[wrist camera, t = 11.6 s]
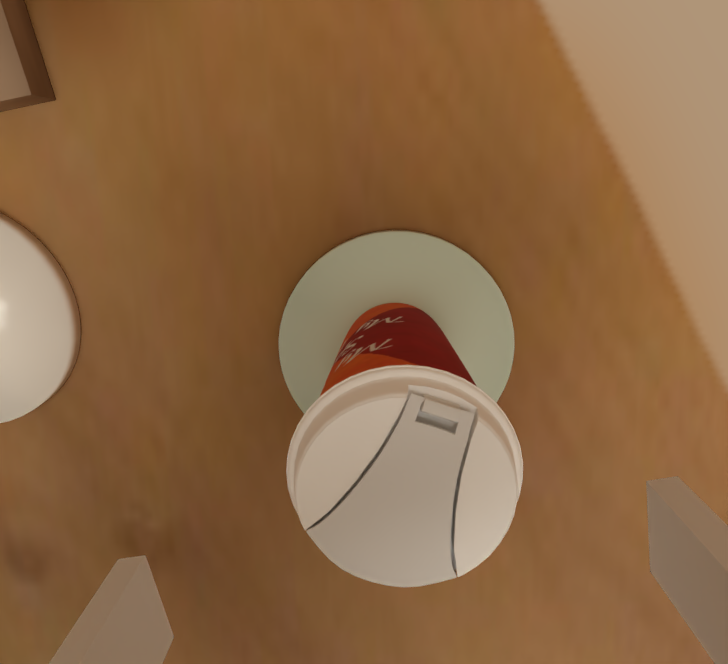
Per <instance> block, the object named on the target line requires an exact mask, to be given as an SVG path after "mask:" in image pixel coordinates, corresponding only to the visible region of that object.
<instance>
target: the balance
mask: <svg viewBox="0 0 728 664" xmlns="http://www.w3.org/2000/svg"><path fill="white" fill-rule="evenodd" d="M53 100H56V99H55V96H54V93H53V90H52V86H51V83H50V80H49V77H48V74H47V71H46V68H45V65H44V62H43V58H42V55H41V52H40V49H39V46H38V43H37V40H36V37H35V33H34V30H33V27H32V24H31V21H30V18H29V15H28V12H27V9H26V5H25V2H24V0H0V112H1V111H6V110H11V109H15V108H20V107H25V106H29V105H34V104H39V103H43V102H48V101H53Z"/></svg>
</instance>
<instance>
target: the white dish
mask: <svg viewBox="0 0 728 664" xmlns="http://www.w3.org/2000/svg"><path fill="white" fill-rule="evenodd" d="M80 340H81V323H80V316H79V309H78V306H77V302H76V298H75V295H74V292H73V290H72V288H71V285H70V283H69V280H68V279H67V277H66V275H65V273H64V272H63V270H62V268H61V266H60V265H59V264H58V262H57V261H56V259H55V258H54V257H53V255H52V254H51V253H50V252H49V250H48V249H47V248H46V247H45V246H44V245H43V244H42V243H41V241H39V240H38V239H37V238H36V237H35V236H34V235H33V234H32V233H30V232H29V231H28V230H27V229H26V228H24V227H23V226H21V225H20V224H19V223H17V222H16V221H14V220H13V219H11V218H9V217H7V216H5V215H4V214H2V213H0V423H3V422H7V421H11V420H13V419H16V418H19V417H21V416H23V415H25V414H27V413H29V412H30V411H32V410H34V409H35V408H37V407H38V406H40V405H41V404H43V403H44V402H45V401H47V400H48V399H49V398H51V397H52V396H53V395H54V394H55V393H56V392H57V391H58V390H59V389H60V388H61V387H62V386H63V385H64V383H65V382H66V380H67V379H68V377H69V376H70V374H71V372H72V370H73V368H74V365H75V363H76V360H77V356H78V353H79V348H80Z"/></svg>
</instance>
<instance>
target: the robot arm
mask: <svg viewBox="0 0 728 664" xmlns="http://www.w3.org/2000/svg"><path fill="white" fill-rule="evenodd" d="M646 485H647V508H648V532H649V555H650V572H651V573H652V575H653V576H654V578H655V579H656V581H657V582H658V583H659V585H660V586H661V588H662V589H663V591H664V592H665V593H666V595H667V596H668V598H669V599H670V601H671V602H672V603H673V605H674V606H675V608H676V609H677V610H678V612H679V613H680V615H681V616H682V618H683V619H684V620H685V622H686V623H687V625H688V626H689V628H690V629H691V630H692V632H693V633H694V635H695V636H696V638H697V639H698V640H699V642H700V643H701V645H702V646H703V648H704V649H705V650H706V652H707V653H708V655H709V656H710V658H711V659H712V660H713V662H714V663H715V664H728V526H727V525H726V524H725V523H724V522H723V521H722V520H721V519H720V518H719V517H718V516H717V515H716V514H715V513H714V512H713V511H712V510H711V509H710V508H709V507H708V506H707V505H706V504H705V503H704V502H703V501H702V500H701V499H700V498H699V497H698V496H697V495H696V494H695V493H694V492H693V491H692V490H691V489H690V488H689V487H688V486H687V485H686V484H685V483H684V482H683V481H682V480H681V479H680V478H679V477H678V476H677V477H670V478H663V479H656V480H650V481H646ZM173 638H174V635H173V632H172V630H171V627H170V624H169V621H168V618H167V615H166V613H165V610H164V607H163V604H162V601H161V598H160V595H159V593H158V590H157V587H156V584H155V581H154V578H153V575H152V573H151V570H150V567H149V564H148V561H147V558H146V555H143V556H136V557H130V558H123V559H118V560H117V562H116V563H115V565H114V566H113V568H112V569H111V571H110V572H109V574H108V575H107V577H106V578H105V580H104V581H103V583H102V584H101V586H100V587H99V589H98V590H97V592H96V593H95V595H94V596H93V598H92V599H91V601H90V602H89V604H88V605H87V607H86V608H85V610H84V611H83V613H82V614H81V616H80V617H79V619H78V620H77V622H76V623H75V625H74V626H73V628H72V629H71V631H70V632H69V634H68V635H67V637H66V638H65V640H64V641H63V643H62V644H61V646H60V647H59V649H58V650H57V652H56V653H55V655H54V656H53V658H52V659H51V661H50V662H49V664H163V661H164V659H165V657H166V654H167V652H168V650H169V647H170V645H171V643H172V640H173Z"/></svg>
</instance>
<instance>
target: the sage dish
mask: <svg viewBox="0 0 728 664" xmlns="http://www.w3.org/2000/svg"><path fill="white" fill-rule="evenodd" d="M386 303H404V304H408V305H412V306H414V307H417V308H419V309H421V310H422V311H424V312H425V313H427V314H428V315H429V316H430V317H431V318H432V319H433V320H434V321H435V322H436V323H437V324H438V326H439V327H440V328H441V330H442V331H443V333H444V334H445V336H446V337H447V339H448V341H449V342H450V344H451V345H452V347H453V348H454V350H455V352H456V353H457V355H458V356H459V358H460V360H461V361H462V363H463V364H464V366H465V368H466V369H467V371H468V373H469V374H470V376H471V377H472V379H473V381H474V382H475V384H476V386H477V387H479V388H480V389H481V390H483V391H484V392H485V393H486V394H487V395H488V396H490V397H491V398H492V399H493V400H494V401H495V402H496V403H497V401H498V399H499V398H500V396H501V394H502V392H503V390H504V388H505V386H506V383H507V381H508V378H509V376H510V372H511V368H512V363H513V357H514V347H515V346H514V329H513V324H512V318H511V315H510V312H509V309H508V306H507V303H506V301H505V299H504V297H503V295H502V293H501V291H500V289H499V287H498V286H497V284H496V283H495V281H494V280H493V278H492V277H491V276H490V275H489V274H488V272H487V271H486V270H485V269H484V268H483V267H482V266H481V265H480V264H479V263H478V262H477V261H476V260H475V259H474V258H472V257H471V256H470V255H469V254H468V253H466V252H465V251H464V250H462V249H460V248H459V247H457V246H456V245H454V244H452V243H450V242H448V241H446V240H444V239H441V238H439V237H437V236H433V235H430V234H426V233H423V232H417V231H410V230H384V231H375V232H371V233H367V234H363V235H360V236H357V237H355V238H352V239H350V240H347V241H345V242H343V243H341V244H340V245H338V246H336V247H334V248H332V249H331V250H330V251H328V252H327V253H326V254H324V255H323V256H322V257H320V258H319V259H318V260H317V261H316V262H315V263H314V264H313V265H312V266H311V267H310V268H309V269H308V271H307V272H306V273H305V275H304V276H303V277H302V278H301V280H300V281H299V282H298V284H297V285H296V287H295V289H294V290H293V292H292V294H291V296H290V297H289V300H288V302H287V305H286V307H285V310H284V313H283V317H282V321H281V325H280V332H279V358H280V364H281V369H282V373H283V376H284V379H285V382H286V385H287V387H288V389H289V391H290V393H291V395H292V397H293V399H294V400H295V402H296V403H297V405H298V406H299V408H300V409H301V410H302V412H303V413H304V414H305V413H306V411H307V410H308V409H309V407H310V406H311V405H312V404H313V403H314V402H315V401H316V400H317V399H318V398H319V397H320V394H321V392H322V390H323V387H324V385H325V382H326V380H327V378H328V375H329V373H330V371H331V368H332V366H333V364H334V361H335V359H336V357H337V354H338V352H339V350H340V347H341V345H342V343H343V341H344V339H345V337H346V335H347V333H348V331H349V329H350V328H351V326H352V325H353V323H354V322H355V321H356V320H357V319H358V318H359V317H360V316H361V315H362V314H363V313H365V312H366V311H368V310H369V309H371V308H373V307H375V306H378V305H382V304H386Z"/></svg>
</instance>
